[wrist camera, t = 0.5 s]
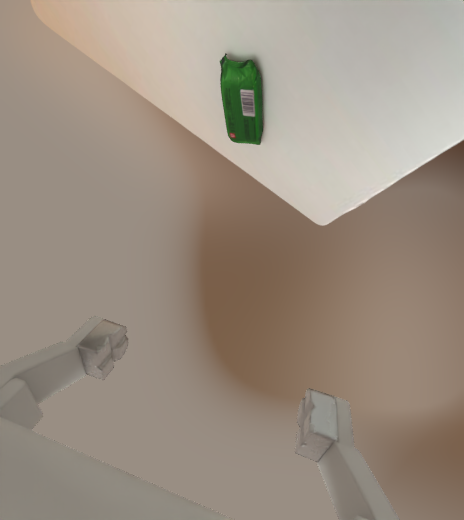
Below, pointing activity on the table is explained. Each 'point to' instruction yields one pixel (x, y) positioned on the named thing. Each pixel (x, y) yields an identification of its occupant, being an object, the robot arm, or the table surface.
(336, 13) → the table surface
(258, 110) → the snack package
